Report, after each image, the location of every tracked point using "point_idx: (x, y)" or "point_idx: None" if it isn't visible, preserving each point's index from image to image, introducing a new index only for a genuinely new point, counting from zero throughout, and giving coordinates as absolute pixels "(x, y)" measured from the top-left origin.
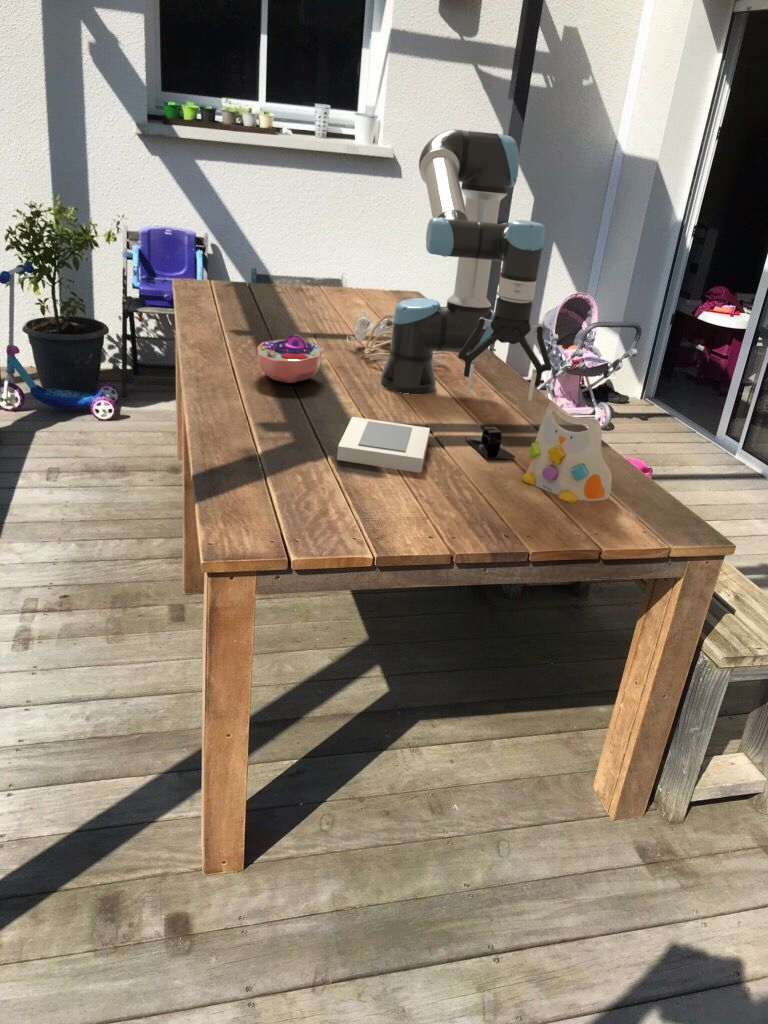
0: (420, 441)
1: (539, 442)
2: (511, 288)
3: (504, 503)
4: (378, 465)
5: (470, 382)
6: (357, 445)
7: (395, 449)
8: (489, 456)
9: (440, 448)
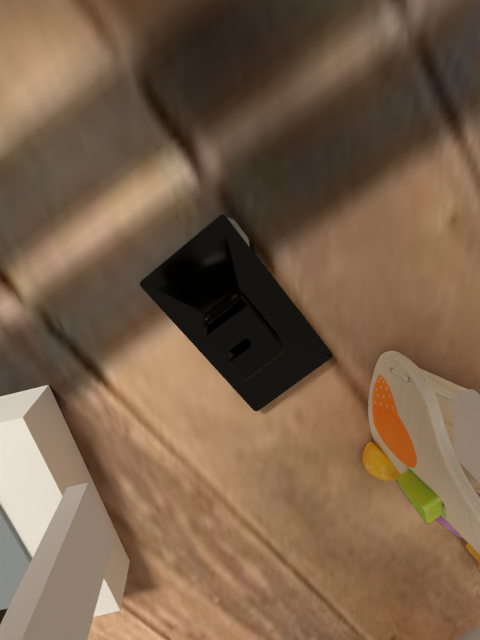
0: None
1: (452, 521)
2: None
3: (337, 567)
4: None
5: (88, 609)
6: None
7: None
8: (259, 403)
9: (97, 389)
